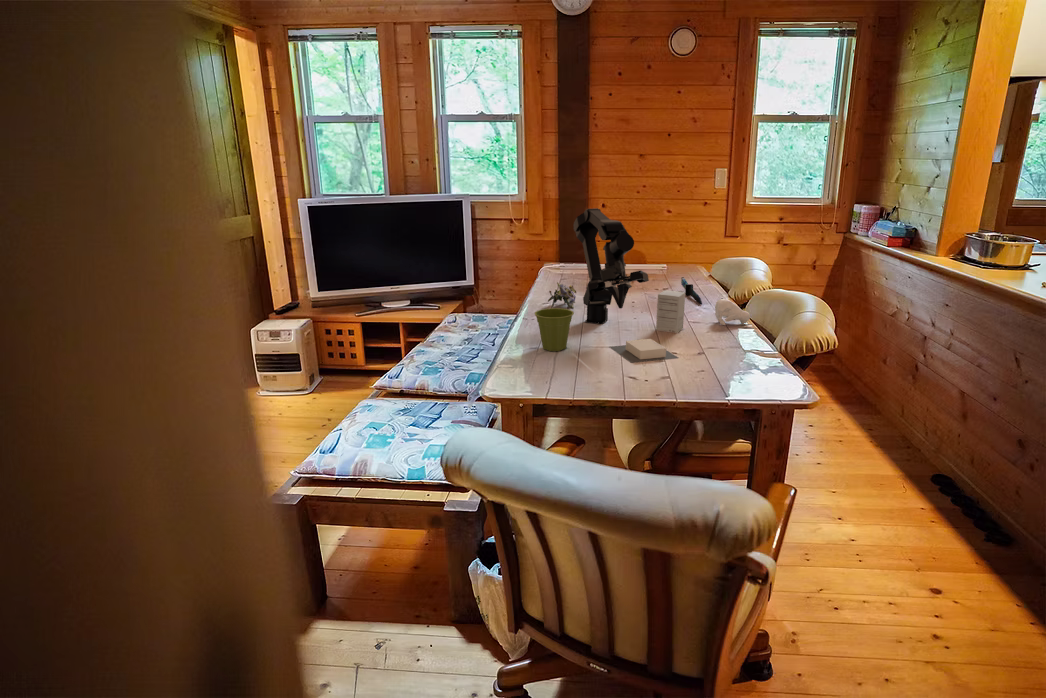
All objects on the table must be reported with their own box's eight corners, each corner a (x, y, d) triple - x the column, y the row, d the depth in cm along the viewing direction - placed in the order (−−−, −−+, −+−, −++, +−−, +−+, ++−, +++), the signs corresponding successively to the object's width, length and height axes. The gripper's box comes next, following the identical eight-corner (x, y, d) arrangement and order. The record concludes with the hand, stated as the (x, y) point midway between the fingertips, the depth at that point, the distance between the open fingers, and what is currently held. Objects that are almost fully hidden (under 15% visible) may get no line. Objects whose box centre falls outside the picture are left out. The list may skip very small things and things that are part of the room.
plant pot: (563, 340, 195) (563, 306, 191) (580, 351, 184) (580, 315, 181) (528, 345, 191) (528, 310, 187) (543, 356, 180) (543, 319, 177)
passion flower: (571, 321, 238) (575, 301, 228) (543, 315, 238) (547, 295, 229) (575, 300, 244) (580, 279, 235) (548, 294, 245) (552, 274, 235)
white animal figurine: (715, 296, 213) (750, 300, 212) (710, 320, 216) (745, 324, 215) (718, 300, 207) (754, 304, 206) (714, 325, 210) (749, 329, 209)
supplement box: (662, 325, 210) (664, 289, 206) (683, 328, 207) (686, 292, 203) (655, 331, 204) (657, 294, 200) (676, 334, 201) (679, 296, 197)
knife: (679, 286, 266) (680, 276, 264) (686, 286, 266) (687, 276, 264) (694, 310, 238) (695, 299, 236) (702, 310, 238) (703, 299, 236)
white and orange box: (626, 341, 183) (640, 350, 174) (650, 338, 185) (666, 348, 176) (625, 349, 184) (640, 360, 175) (650, 347, 186) (665, 357, 177)
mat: (609, 347, 187) (609, 346, 187) (653, 343, 191) (653, 342, 191) (631, 363, 173) (631, 362, 172) (679, 359, 176) (679, 358, 176)
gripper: (577, 262, 193) (583, 311, 191) (633, 249, 183) (640, 300, 182) (592, 267, 202) (597, 314, 201) (646, 255, 193) (652, 304, 191)
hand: (620, 308), depth 193 cm, fingers closed
